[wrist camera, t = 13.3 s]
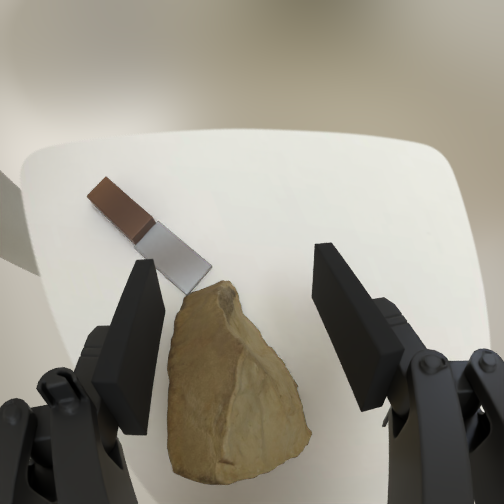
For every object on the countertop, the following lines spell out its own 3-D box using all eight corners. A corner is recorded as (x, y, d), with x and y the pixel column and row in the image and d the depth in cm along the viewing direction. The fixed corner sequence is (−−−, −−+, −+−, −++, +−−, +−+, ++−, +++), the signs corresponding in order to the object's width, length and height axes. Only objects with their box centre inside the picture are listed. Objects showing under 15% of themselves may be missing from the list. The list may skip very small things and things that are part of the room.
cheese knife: (90, 205, 21) (84, 198, 20) (113, 182, 21) (107, 174, 20) (187, 295, 19) (184, 292, 18) (212, 266, 20) (210, 261, 19)
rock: (145, 258, 17) (112, 433, 13) (236, 197, 11) (196, 495, 7) (280, 308, 23) (267, 441, 19) (383, 285, 17) (377, 458, 13)
